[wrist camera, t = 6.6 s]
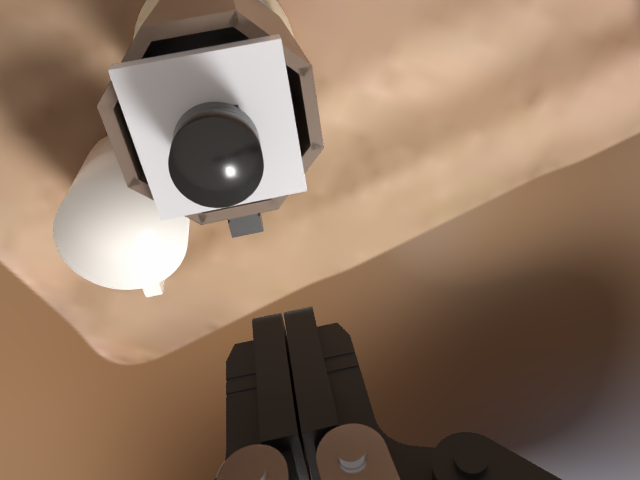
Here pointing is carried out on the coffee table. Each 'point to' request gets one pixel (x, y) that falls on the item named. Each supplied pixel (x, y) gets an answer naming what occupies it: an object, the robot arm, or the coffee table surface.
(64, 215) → the mug
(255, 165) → the plunger
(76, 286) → the coffee table surface
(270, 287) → the coffee table surface
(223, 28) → the carafe
